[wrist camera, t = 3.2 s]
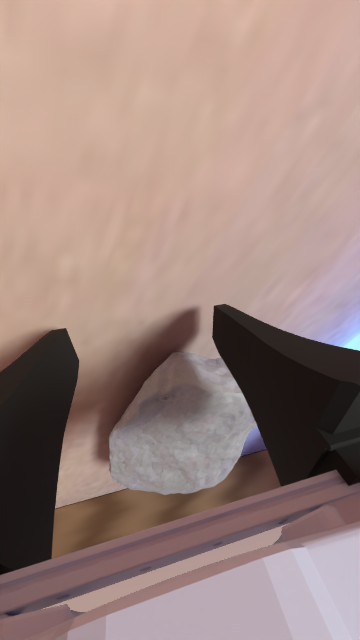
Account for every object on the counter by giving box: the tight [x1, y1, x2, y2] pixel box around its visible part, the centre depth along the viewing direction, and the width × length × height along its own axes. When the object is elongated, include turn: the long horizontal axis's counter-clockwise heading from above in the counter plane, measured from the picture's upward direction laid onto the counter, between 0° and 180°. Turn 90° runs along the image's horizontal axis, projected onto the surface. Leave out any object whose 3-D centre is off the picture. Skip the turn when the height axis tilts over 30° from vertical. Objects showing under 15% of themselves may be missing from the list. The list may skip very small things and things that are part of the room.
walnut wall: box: [52, 450, 281, 559], centre depth 21 cm, size 24×2×5 cm, turn 93°
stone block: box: [109, 352, 257, 495], centre depth 16 cm, size 12×5×10 cm
